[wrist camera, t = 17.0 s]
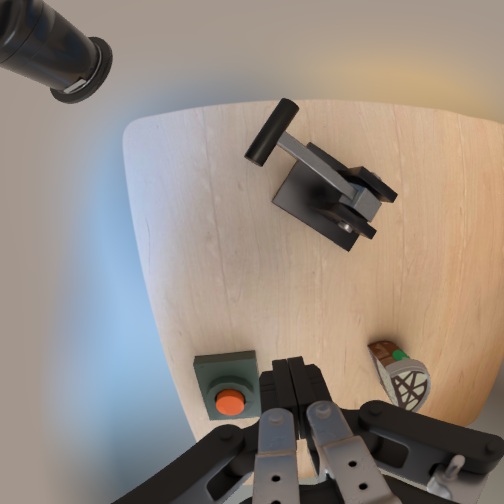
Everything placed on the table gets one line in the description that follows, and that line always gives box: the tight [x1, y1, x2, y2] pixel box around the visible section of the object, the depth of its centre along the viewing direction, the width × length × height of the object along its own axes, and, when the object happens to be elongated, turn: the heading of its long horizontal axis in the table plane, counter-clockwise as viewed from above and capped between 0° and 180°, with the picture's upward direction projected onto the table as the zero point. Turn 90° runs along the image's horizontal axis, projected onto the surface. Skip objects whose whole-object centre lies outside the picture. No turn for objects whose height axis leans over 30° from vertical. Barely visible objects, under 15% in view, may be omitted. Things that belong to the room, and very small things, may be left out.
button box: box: [193, 351, 261, 420], centre depth 40 cm, size 12×9×4 cm
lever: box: [244, 98, 382, 222], centre depth 23 cm, size 13×6×2 cm, turn 59°
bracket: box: [272, 142, 398, 252], centre depth 30 cm, size 12×9×13 cm
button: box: [216, 389, 244, 415], centre depth 38 cm, size 4×4×2 cm
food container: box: [367, 341, 431, 413], centre depth 37 cm, size 12×6×10 cm, turn 27°
